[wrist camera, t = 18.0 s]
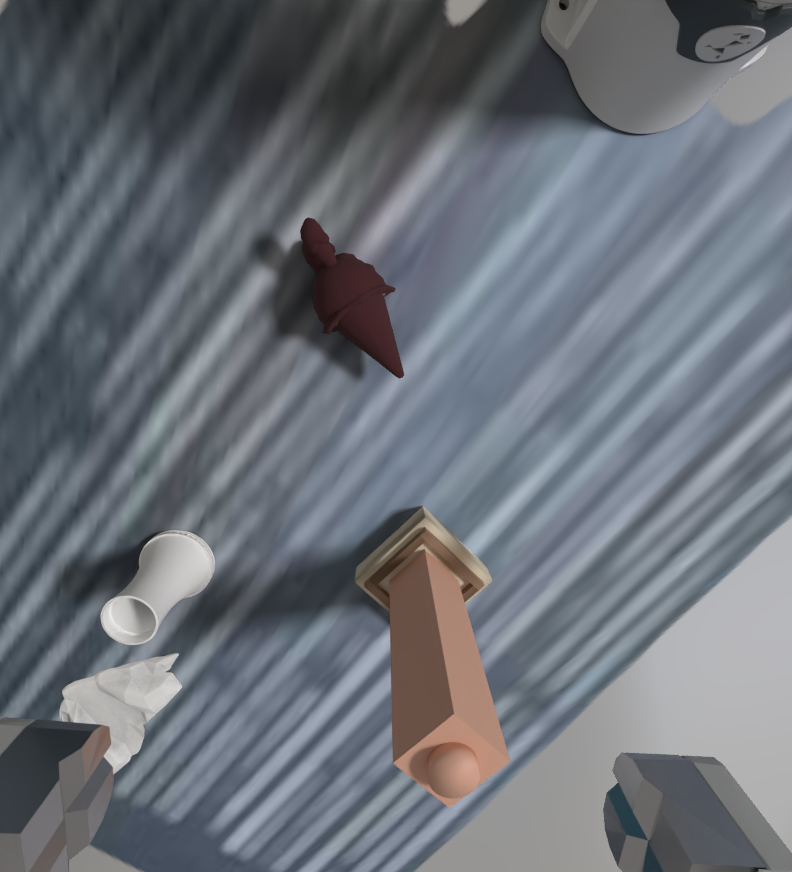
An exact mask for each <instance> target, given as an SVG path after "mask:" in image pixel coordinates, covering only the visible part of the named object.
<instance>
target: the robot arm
mask: <svg viewBox="0 0 792 872" xmlns="http://www.w3.org/2000/svg"><path fill="white" fill-rule="evenodd" d="M560 3H562V4H564V5H565V7H566V10H561V9H560V7H559V4H560ZM791 27H792V0H548V1H547V5H546V8H545V11H544V14H543V17H542V21H541V32H542V35H543V37H544V39H545V40H546V42H547V43H548V44H549V45H550V46H551V48H552V49H553V50H554V51H555V52H556V53H557V54H558V55H559V56H560V57H561V58H562V59H563V60H564V62H565V63H566V65H567V68H568V70H569V73H570V75H571V78H572V81H573V83H574V86H575V88H576V90H577V92H578V94H579V96H580V97H581V99H582V100H583V102H584V103H585V105H586V106H587V107H588V108H589V109H590V111H591V112H592V113H593V114H594V115H595V116H597V117H598V118H599V119H600V120H602V121H603V122H605V123H606V124H608V125H610V126H611V127H614V128H616V129H618V130H621V131H625V132H629V133H636V134H649V133H656V132H661V131H664V130H667V129H670V128H673V127H675V126H677V125H679V124H681V123H683V122H684V121H686V120H688V119H689V118H690V117H692V116H693V115H694V114H696V113H697V112H698V111H699V110H700V109H701V108H702V107H703V106H704V105H705V104H706V103H707V102H708V101H709V100H710V99H711V97H712V96H713V95H714V94H715V93H716V92H717V91H718V90H719V89H720V88H721V87H722V86H723V85H724V84H725V83H726V82H727V81H728V80H729V79H730V78H732V77H734V76H735V75H737V74H739V73H741V72H743V71H744V70H746V69H747V68H749V67H750V66H751V65H753V64H754V63H755V62H756V61H757V60H758V59H759V58H760V57H761V56H762V55H763V54H764V53H765V51H766V49H767V45H768V44H769V43H770V42H771V41H772V40H773V39H775V38H776V37H777V36H779V35H780V34H782V33H784V32H785V31H786V30H788V29H790V28H791ZM110 745H111V736H110V728H109V727H108V726H105V725H99V724H87V723H75V722H63V721H52V720H40V719H38V720H34V719H21V718H8V717H4V718H3V719H1V720H0V872H69V860H70V859H72V857H74V856H75V855H76V854H78V853H79V852H80V851H81V850H83V849H84V848H85V847H86V846H88V845H89V844H90V843H91V841H92V839H93V837H94V835H95V833H96V832H97V830H98V828H99V826H100V824H101V822H102V820H103V817H104V815H105V812H106V809H107V806H108V804H109V801H110V798H111V793H112V787H113V780H114V779H113V767H112V766H111V764H110V763H109V762H108V761H107V760H106V759H105V758H104V757H103V756H104V755H105V753H106V752H107V750H108V749H109V747H110ZM613 773H614V775H615V777H616V779H617V781H618V783H617V784H616V785H615V786H614V787H613V788H612V789H611V790H609V791H608V792H607V794H606V799H605V804H604V809H603V811H604V822H605V831H606V835H607V838H608V842H609V846H610V849H611V851H612V853H613V856H614V858H615V861H616V863H617V866H618V867H619V868H620V869H621V870H622V871H623V872H792V853H791V852H790V850H789V849H788V848H787V846H786V845H785V844H784V843H783V841H782V840H781V839H780V837H779V836H778V835H777V833H775V831H774V830H773V828H772V827H771V826H770V824H769V823H768V822H767V820H766V819H765V818H764V817H763V816H762V814H761V813H760V811H759V810H758V809H757V808H756V806H755V805H754V804H753V802H752V801H751V800H750V798H749V797H748V796H747V795H746V793H745V792H744V791H743V789H742V788H741V787H740V785H739V784H738V783H737V782H736V780H735V779H734V778H733V776H732V775H731V774H730V772H729V771H728V770H727V769H726V767H725V766H724V765H723V764H722V763H721V762H719V761H718V760H716V759H715V758H714V757H700V756H679V755H665V754H663V755H662V754H639V753H621V754H620V755H619V756H618V757H617V758H616V761H615V764H614V767H613Z"/></svg>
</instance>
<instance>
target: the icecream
mask: <svg viewBox="0 0 792 872" xmlns="http://www.w3.org/2000/svg"><path fill="white" fill-rule="evenodd" d="M300 232H301V239H302V241H303V243H302V252H303V254H304V256H305V258H306V261H307V262H308V264H309V265H310V266H311V267H312V268H313V269H314V270H315V271H316V273H318V276H317V278H316V279H315V281H314V284H313V292H312V298H313V305H314V309H315V311H316V313H317V315H318V317H319V319H320V321H321V322H322V323H324V324H325V327H324V330H323V332H322V333H325V334H329V333H330V332H335V331H339V332H340V333H341V334H342V335H344V336H345V337H346V338H348V339H349V340H350V341H351V342H353V343H354V344H355V345H357V346H358V347H359V348H360V349H362V350H363V351H364V352H366V353H367V354H368V355H369V356H371V357H372V358H373V359H375V360H376V361H377V362H379V363H380V364H381V365H382V366H384V367H385V368H386V369H387V370H389V371H390V372H391V373H392V374H394V375H395V376H396V377H398V378H402V377H403V376H404V372H403V368H402V364H401V360H400V357H399V353H398V349H397V345H396V341H395V337H394V334H393V330H392V326H391V322H390V318H389V314H388V310H387V307H386V303H385V299H384V297H385V296H386V295H388V294H389V293H391V292H394V291H395V288H394V287H391V286H388V285H386V284H385V282H384V280H383V278H382V277H381V276H380V275H379V274H378V273H376V272H375V269H374V267H373V266H372V265H370V264H366V263H364V262H362V261H361V260H358V259H357V258H356V257H355V256H354V254H347V253H341V254H338V255H336V256H335V255H334V252H335V248H334V246H333V245H332V244H331V243H329V237H328V235H327V234H326V233H325V232H324V231H323V229H322V228H321V226H320V225H319V224H318V223H317V222H316V221H315V219H312V218H307V219H305V221H304V223H303V225H302V227H301V230H300Z"/></svg>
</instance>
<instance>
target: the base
mask: <svg viewBox="0 0 792 872" xmlns="http://www.w3.org/2000/svg"><path fill="white" fill-rule="evenodd" d="M424 549H425V550H426V551H427V552H428V553H429V554H430V555H432V556H433V557H434V558H435V559H436V560H437V561H438V562H439V563H440V564H441V565H442V566H443V567H444V568H445V569H447V570H448V571H449V572H450V573H451V574H452V575H453V576H454V577H455V578H456V579H457V580H458V581H459V585H460V588H461V592H462V595H463V599H464V602H465V604H466V603H468V602H469V601H470V600H471V599H472V598H473V597H475V596H476V595H477V594H478V593H479V592H480V591H482V590H483V589H484V588H485V587H486V586H487V585H489V584H490V583H491V582H492V579H491V576H490V574H489V572H488V569H487V567H486V565H485V564H484V563H482V562H481V561H480V560H479V559H478V558H477V557H476V556H475V555H474V554H473V553H472V552H471V551H470V550H469V549H468V548H467V547H466V546H465V545H464V544H462V543H461V542H460V541H459V540H458V539H457V538H456V537H455V536H454V535H453V534H452V533H451V532H450V531H449V530H448V529H447V528H446V527H445V526H444V525H442V524H441V523H440V522H439V521H438V520H437V519H436V518H435V517H434V516H433V515H432V514H431V513H430V512H429V511H428V510H427V509H426V508H425V507H424V506H422V507H421V508H420V509H419V510H418V511H417V512H416V513H414V514H413V515H412V516H411V517H410V518H409V519H408V520H407V521H406V522H405V523H404V524H403V525H401V526H400V527H399V528H398V529H397V530H396V531H395V532H394V533H393V534H392V535H391V536H390V537H388V538H387V539H386V540H385V541H384V542H383V543H382V544H381V545H380V546H379V547H378V548H377V549H375V550H374V551H373V552H372V553H371V554H370V555H369V556H368V557H367V558H366V559H365V560H363V561H362V562H361V563H360V564H359V565H358V566H357V567H356V575H355V583H356V584H357V585H358V586H359V587H361V588H362V589H363V590H364V591H365V592H366V593H368V594H369V595H370V596H371V597H372V598H373V599H374V600H376V601H377V602H378V603H379V604H380V605H381V606H382V607H384V608H385V609H386V610H387V611H388V612H389V613H390V593H389V580H391V579H392V578H393V577H394V576H395V575H396V574H397V573H398V572H400V571H401V570H402V569H403V568H404V567H405V566H406V565H407V564H409V563H410V562H411V561H412V560H413V559H414V558H415V557H416V556H417V555H419V554H420V553H421V552H422V551H423V550H424Z"/></svg>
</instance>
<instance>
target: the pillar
mask: <svg viewBox="0 0 792 872" xmlns="http://www.w3.org/2000/svg"><path fill="white" fill-rule="evenodd" d="M389 593H390V642H391V691H392V740H393V764H395V765H396V766H397V767H398V768H400V769H401V770H402V771H403V772H405V773H406V774H407V775H409V776H410V777H411V778H412V779H414V780H415V781H416V782H417V783H419V784H420V785H421V786H422V787H424V788H425V789H426V790H427V791H429V792H430V793H431V794H433V795H434V796H435V797H436V798H438V799H439V800H440V801H441V802H443V803H444V804H445V805H446V806H448V807H449V808H450V807H451V806H453V805H454V804H455V803H457V802H458V801H459V800H460V799H462V798H463V797H464V796H466V795H468V794H470V793H471V792H472V791H474V790H475V788H476V787H477V786H479V785H480V784H481V783H483V782H484V781H485V780H487V779H488V778H489V777H490V776H492V775H493V774H494V773H496V772H497V771H498V770H500V769H501V768H502V767H504V766H505V765H506V764H507V763H509V762H510V759H509V756H508V752H507V749H506V745H505V742H504V738H503V735H502V731H501V728H500V724H499V721H498V717H497V714H496V710H495V707H494V703H493V700H492V696H491V693H490V690H489V686H488V683H487V679H486V676H485V672H484V669H483V665H482V662H481V658H480V655H479V651H478V648H477V644H476V641H475V637H474V634H473V630H472V627H471V623H470V620H469V616H468V613H467V609H466V606H465V602H464V599H463V595H462V592H461V588H460V585H459V581H458V580H457V579H456V578H455V577H454V576H453V575H452V574H451V573H450V572H449V571H448V570H447V569H445V568H444V567H443V566H442V565H441V564H440V563H439V562H438V561H437V560H436V559H435V558H434V557H433V556H432V555H430V554H429V553H428V552H427V551H426V550H425V549H424V550H423V551H422V552H421V553H420V554H419V555H417V556H416V557H415V558H414V559H413V560H412V561H411V562H410V563H409V564H407V565H406V566H405V567H404V568H403V569H402V570H401V571H400V572H398V573H397V574H396V575H395V576H394V577H393V578H392V579H391V580H389Z"/></svg>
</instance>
